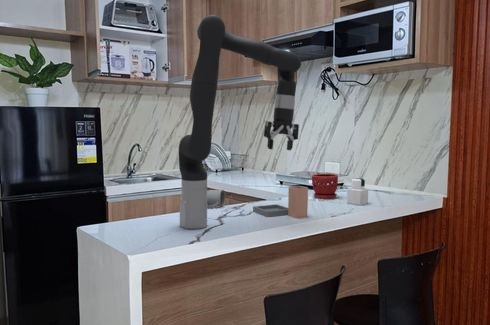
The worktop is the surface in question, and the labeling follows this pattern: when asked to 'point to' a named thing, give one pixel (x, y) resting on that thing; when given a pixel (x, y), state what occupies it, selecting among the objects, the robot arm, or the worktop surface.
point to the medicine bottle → (357, 192)
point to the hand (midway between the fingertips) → (279, 149)
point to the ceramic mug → (215, 198)
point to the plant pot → (325, 185)
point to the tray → (271, 210)
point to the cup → (298, 201)
